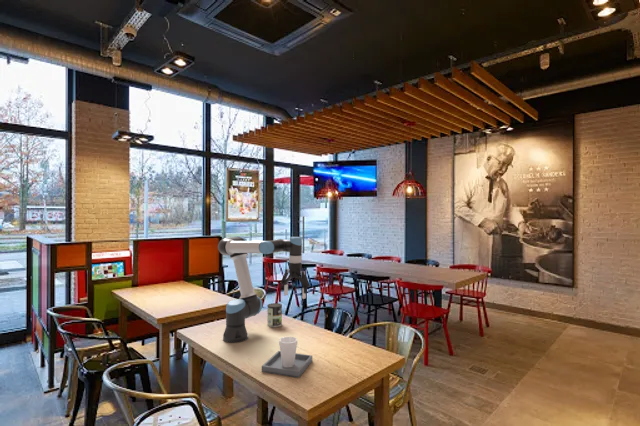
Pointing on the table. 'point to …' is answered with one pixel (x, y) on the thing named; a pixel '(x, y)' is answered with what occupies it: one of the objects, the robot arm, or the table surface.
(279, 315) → the coffee can
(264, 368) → the tray
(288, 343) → the foam cup
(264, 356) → the table surface
